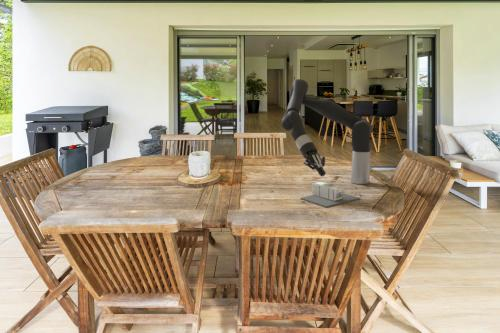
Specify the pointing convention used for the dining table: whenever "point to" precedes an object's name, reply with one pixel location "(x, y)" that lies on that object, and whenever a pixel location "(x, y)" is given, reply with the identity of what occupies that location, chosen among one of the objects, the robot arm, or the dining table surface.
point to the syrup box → (327, 190)
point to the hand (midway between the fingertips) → (323, 175)
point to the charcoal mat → (328, 202)
